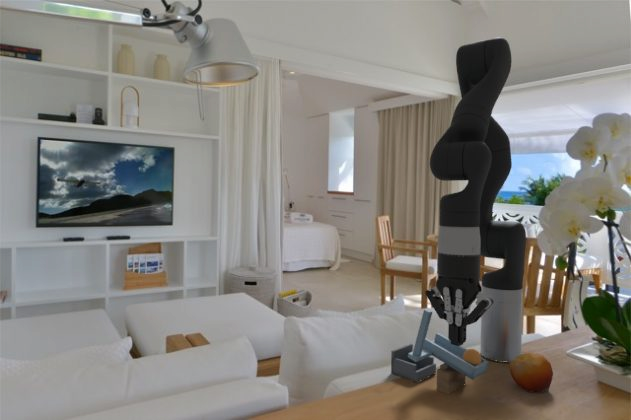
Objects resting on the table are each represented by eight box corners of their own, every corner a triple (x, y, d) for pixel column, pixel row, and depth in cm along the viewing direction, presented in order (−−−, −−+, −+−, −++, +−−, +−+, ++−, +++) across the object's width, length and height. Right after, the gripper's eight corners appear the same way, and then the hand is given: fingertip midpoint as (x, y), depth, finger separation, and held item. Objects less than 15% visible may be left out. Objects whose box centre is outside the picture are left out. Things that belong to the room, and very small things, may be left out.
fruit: (569, 391, 84) (546, 354, 85) (531, 408, 86) (509, 372, 86) (555, 375, 92) (534, 341, 93) (520, 391, 94) (500, 358, 94)
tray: (410, 365, 101) (410, 343, 101) (435, 373, 96) (436, 351, 96) (391, 373, 96) (391, 350, 96) (417, 382, 91) (417, 359, 91)
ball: (466, 360, 89) (469, 344, 88) (483, 368, 86) (486, 351, 86) (458, 365, 86) (460, 348, 86) (474, 372, 84) (477, 355, 83)
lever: (435, 342, 95) (446, 299, 93) (486, 372, 87) (500, 325, 85) (404, 354, 88) (416, 307, 85) (457, 388, 79) (472, 337, 77)
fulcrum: (454, 380, 93) (454, 354, 93) (465, 383, 91) (466, 357, 91) (436, 389, 88) (436, 362, 88) (447, 394, 86) (448, 366, 86)
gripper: (503, 252, 78) (501, 349, 78) (437, 246, 88) (436, 332, 88) (483, 256, 73) (481, 359, 73) (416, 249, 83) (414, 340, 83)
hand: (456, 344), depth 81 cm, fingers closed
